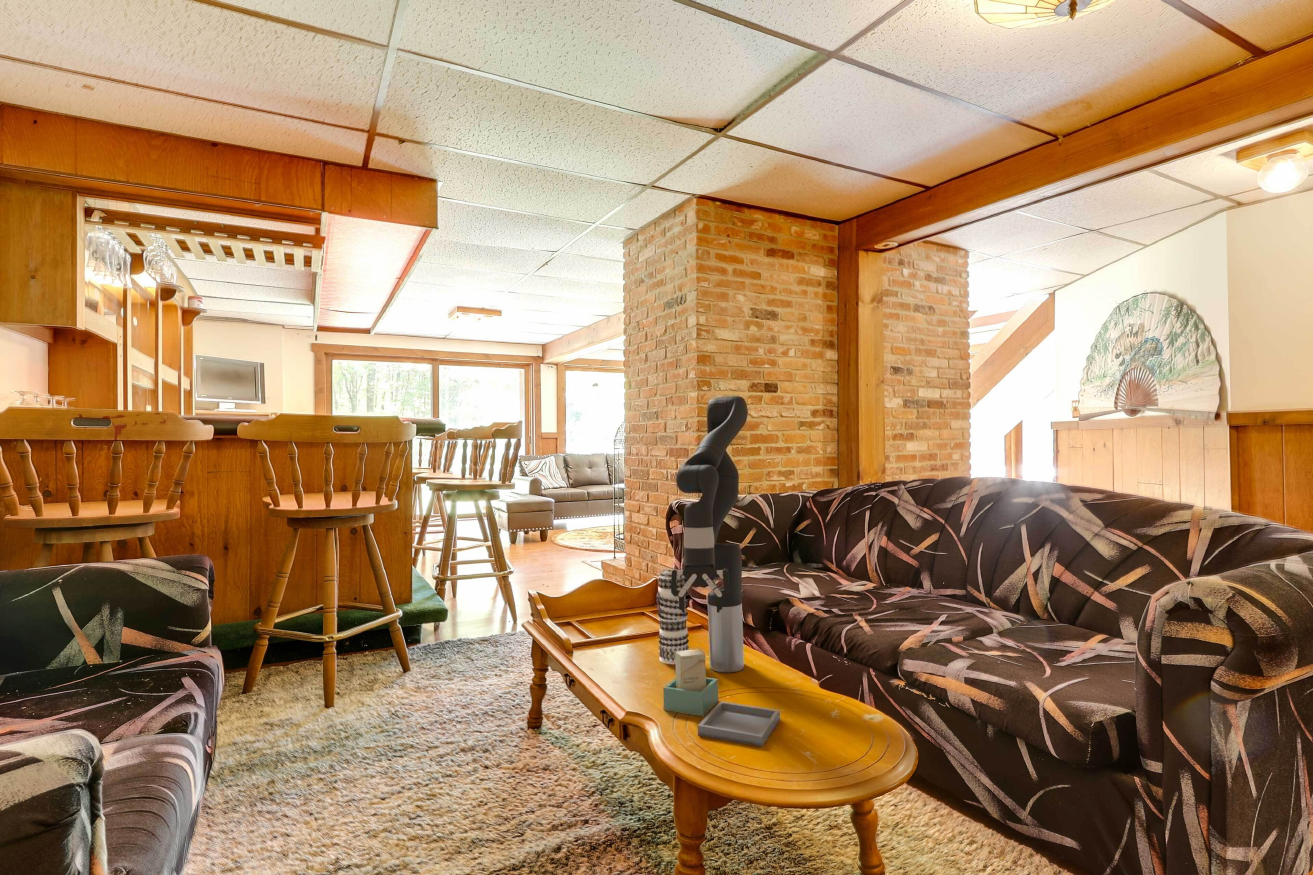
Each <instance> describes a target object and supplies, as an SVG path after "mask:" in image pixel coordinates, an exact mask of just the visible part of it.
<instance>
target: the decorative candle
mask: <svg viewBox="0 0 1313 875" xmlns="http://www.w3.org/2000/svg"><path fill="white" fill-rule="evenodd" d="M673 569H674V568H667V569H663V570H661V572H660V574H658V575H657V577H658V586H657V588H658V589H657V590H658V592H656V598H657V599H656V604H657V607H656V609H657V610H658V612H657V618H658V620H659V634H658V638H659V640H658V643H659V645H658V650H659V652H658V655H659V657H658V658H659V659H658V660H659V661H660V662H661V663H662V664H667V665H676V661H675V660H676V659H675V651H683V650H690V646H689V642H690V640H689V639H688V638H689V633H688V627H687V619H688V618H689V616H688V615H689V613H688V612H687V611H686V610H687V609H688V608H689V605H687V604H688V603H689V599H687V598H685V613H682V610H680V609H679V597H678V596H677V595H673V594H672V593H671V581H672V571H673ZM676 569H677V568H676ZM677 570H679V569H677ZM685 583H686V578H685V577H684V576H683V574H682V575H680V578H679V579H677V589H678V590H681V589H682V587H683V586H684V585H685ZM688 595H689V592H687V591H686V592H685V594H684V596H685V597H687V596H688Z"/></svg>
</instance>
